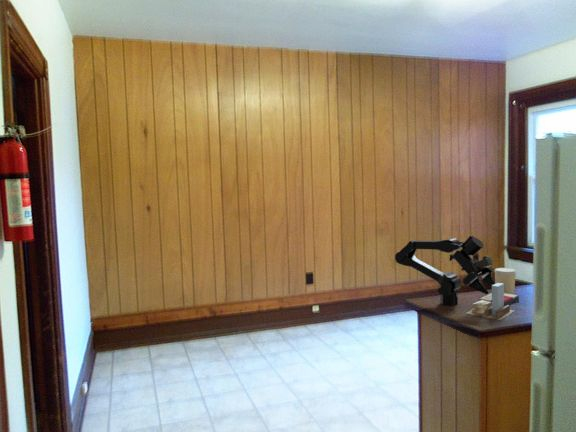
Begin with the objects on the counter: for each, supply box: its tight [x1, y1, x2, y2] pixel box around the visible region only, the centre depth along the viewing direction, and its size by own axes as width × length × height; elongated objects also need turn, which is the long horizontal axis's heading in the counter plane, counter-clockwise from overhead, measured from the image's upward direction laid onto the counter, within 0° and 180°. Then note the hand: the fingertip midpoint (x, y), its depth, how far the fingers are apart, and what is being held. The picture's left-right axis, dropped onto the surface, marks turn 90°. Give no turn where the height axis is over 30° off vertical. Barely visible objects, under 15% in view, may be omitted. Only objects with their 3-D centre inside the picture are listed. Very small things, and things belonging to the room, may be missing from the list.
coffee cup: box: [493, 267, 517, 295], centre depth 220 cm, size 9×9×12 cm
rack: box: [466, 304, 516, 321], centre depth 191 cm, size 14×16×4 cm
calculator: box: [478, 292, 520, 307], centre depth 205 cm, size 11×4×15 cm
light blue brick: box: [491, 283, 504, 315], centre depth 188 cm, size 2×6×12 cm, turn 134°
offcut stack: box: [471, 300, 492, 314], centre depth 193 cm, size 5×9×3 cm, turn 134°
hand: (492, 291), depth 190 cm, fingers open, 9 cm apart
